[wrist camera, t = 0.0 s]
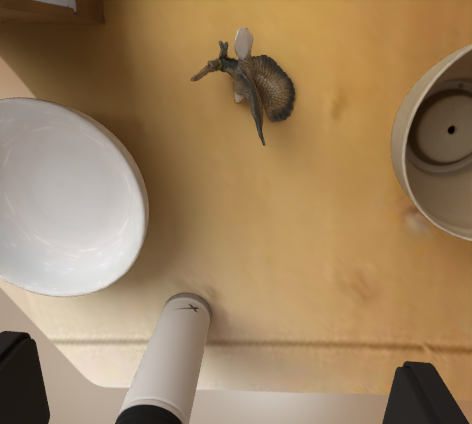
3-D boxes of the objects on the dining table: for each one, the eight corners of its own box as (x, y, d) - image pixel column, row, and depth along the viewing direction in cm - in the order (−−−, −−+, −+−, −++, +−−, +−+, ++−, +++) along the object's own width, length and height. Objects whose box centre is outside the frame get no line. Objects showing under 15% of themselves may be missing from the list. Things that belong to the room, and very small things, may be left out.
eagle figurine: (188, 101, 36) (255, 158, 36) (190, 57, 29) (274, 128, 29) (235, 55, 38) (299, 109, 38) (248, 3, 31) (326, 69, 31)
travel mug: (193, 282, 44) (145, 428, 26) (220, 321, 46) (193, 483, 27) (153, 301, 46) (80, 453, 27) (180, 338, 48) (129, 504, 29)
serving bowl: (-14, 243, 44) (-60, 270, 38) (-11, 71, 37) (-68, 69, 31) (146, 286, 45) (127, 320, 39) (180, 126, 38) (163, 135, 31)
